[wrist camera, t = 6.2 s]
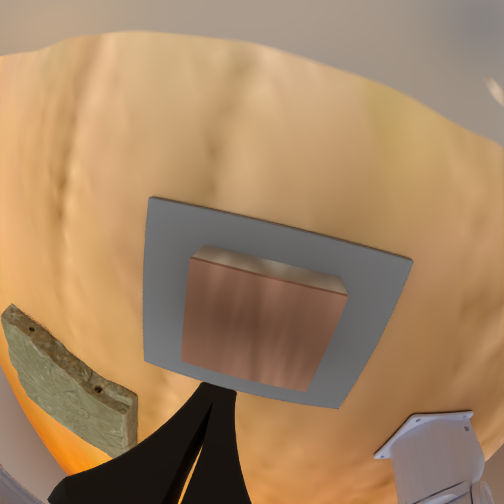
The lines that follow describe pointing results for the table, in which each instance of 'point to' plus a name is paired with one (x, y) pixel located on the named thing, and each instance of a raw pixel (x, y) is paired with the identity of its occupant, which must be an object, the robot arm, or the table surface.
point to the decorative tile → (70, 387)
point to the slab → (258, 317)
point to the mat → (279, 250)
